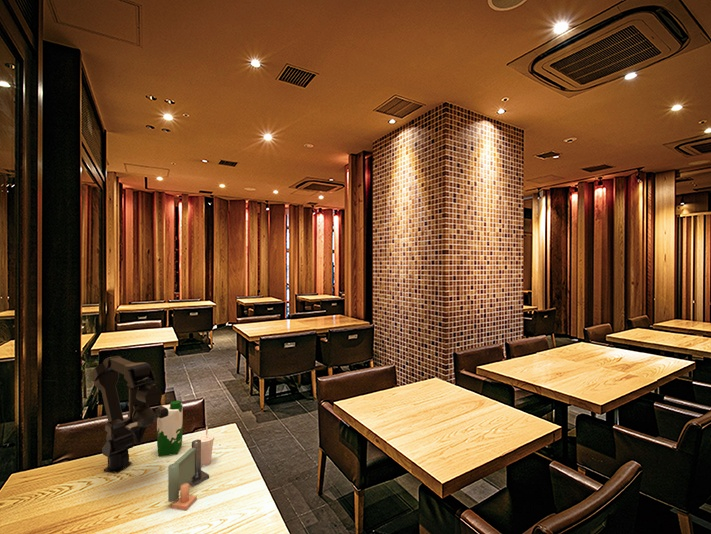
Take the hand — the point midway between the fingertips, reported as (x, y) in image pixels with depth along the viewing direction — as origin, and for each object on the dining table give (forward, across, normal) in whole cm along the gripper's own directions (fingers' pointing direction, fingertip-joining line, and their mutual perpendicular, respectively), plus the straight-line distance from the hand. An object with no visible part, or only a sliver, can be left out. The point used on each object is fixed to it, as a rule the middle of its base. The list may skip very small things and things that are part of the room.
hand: (138, 443), depth 123 cm
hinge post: (+13, +12, -17) cm, 25 cm away
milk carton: (+13, +16, +10) cm, 23 cm away
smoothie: (+13, +20, -10) cm, 26 cm away
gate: (+11, +5, -21) cm, 24 cm away
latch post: (+13, +3, -26) cm, 30 cm away
